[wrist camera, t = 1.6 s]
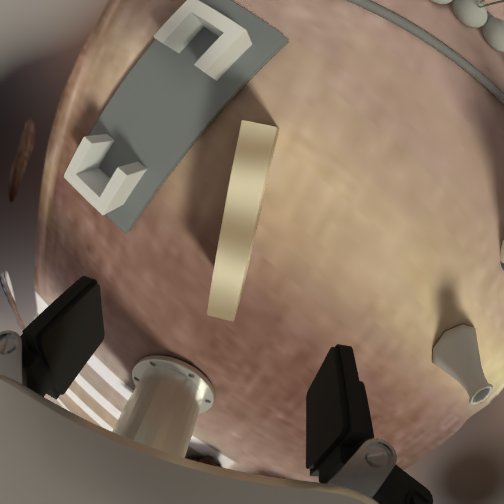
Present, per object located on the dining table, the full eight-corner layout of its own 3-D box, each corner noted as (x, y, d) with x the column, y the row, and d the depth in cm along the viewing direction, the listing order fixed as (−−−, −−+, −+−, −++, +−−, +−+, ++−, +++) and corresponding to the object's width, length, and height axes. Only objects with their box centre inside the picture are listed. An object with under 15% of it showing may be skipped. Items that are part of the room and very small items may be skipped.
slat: (244, 282, 31) (233, 321, 25) (222, 277, 31) (206, 314, 25) (279, 128, 25) (276, 127, 19) (253, 123, 25) (241, 120, 19)
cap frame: (130, 230, 30) (106, 247, 26) (72, 175, 29) (43, 184, 24) (288, 42, 21) (288, 23, 17) (209, -10, 20) (194, -31, 15)
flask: (480, 321, 30) (514, 368, 21) (463, 360, 33) (488, 409, 24) (440, 324, 31) (472, 378, 22) (424, 366, 34) (446, 420, 24)
